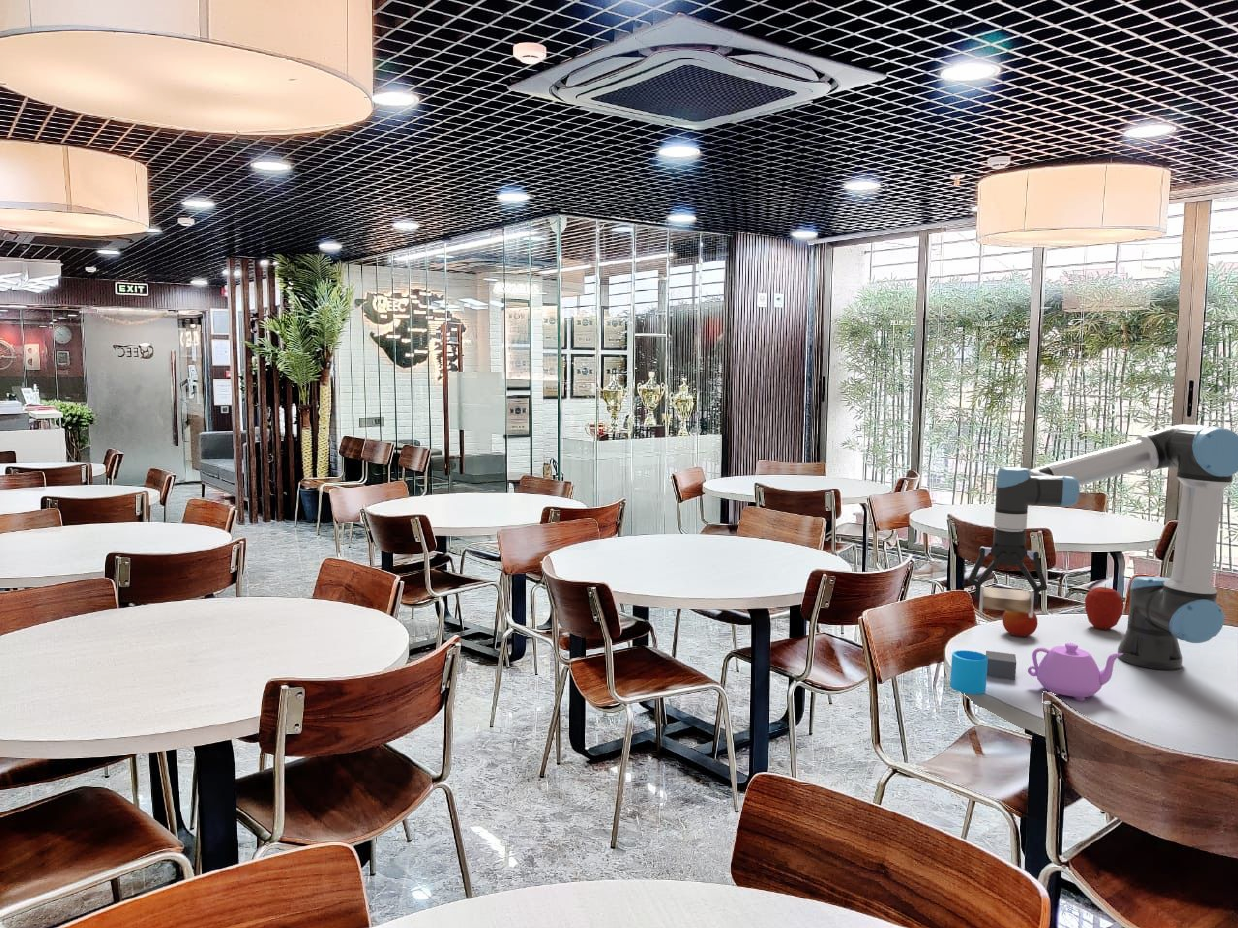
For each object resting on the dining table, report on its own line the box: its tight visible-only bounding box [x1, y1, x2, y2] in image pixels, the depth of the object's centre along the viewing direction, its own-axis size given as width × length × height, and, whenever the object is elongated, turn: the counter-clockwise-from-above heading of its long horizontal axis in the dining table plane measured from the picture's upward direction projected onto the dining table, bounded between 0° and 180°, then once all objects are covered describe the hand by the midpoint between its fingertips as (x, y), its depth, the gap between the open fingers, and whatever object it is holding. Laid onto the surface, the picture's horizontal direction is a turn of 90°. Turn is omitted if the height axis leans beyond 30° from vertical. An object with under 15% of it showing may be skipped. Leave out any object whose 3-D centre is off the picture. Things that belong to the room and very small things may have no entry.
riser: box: [985, 650, 1017, 681], centre depth 231 cm, size 7×7×4 cm
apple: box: [1084, 583, 1124, 631], centre depth 274 cm, size 10×10×14 cm
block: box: [982, 586, 1031, 613], centre depth 229 cm, size 11×11×3 cm
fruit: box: [1001, 610, 1039, 638], centre depth 266 cm, size 10×10×10 cm
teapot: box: [1027, 642, 1123, 702], centre depth 217 cm, size 20×14×12 cm
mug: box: [949, 649, 988, 695], centre depth 222 cm, size 12×8×8 cm
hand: (1005, 613), depth 230 cm, fingers closed on block, 11 cm apart
